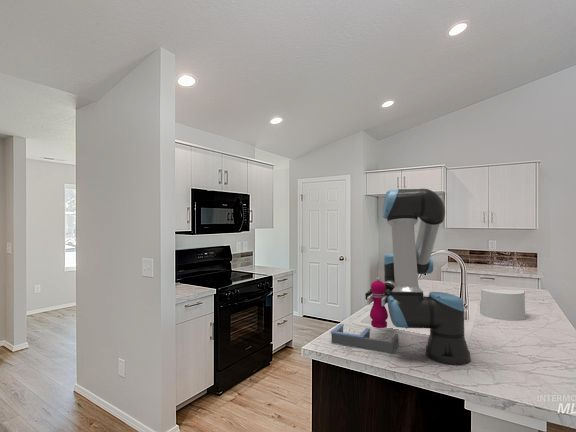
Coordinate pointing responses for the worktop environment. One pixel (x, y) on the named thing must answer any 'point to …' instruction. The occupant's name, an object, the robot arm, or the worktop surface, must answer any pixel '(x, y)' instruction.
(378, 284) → the pepper mill
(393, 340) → the divider rack
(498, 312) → the container
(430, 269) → the robot arm
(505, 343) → the worktop surface
